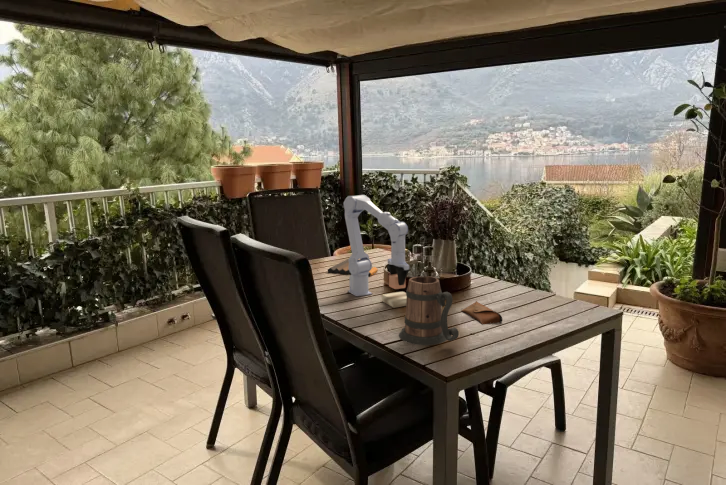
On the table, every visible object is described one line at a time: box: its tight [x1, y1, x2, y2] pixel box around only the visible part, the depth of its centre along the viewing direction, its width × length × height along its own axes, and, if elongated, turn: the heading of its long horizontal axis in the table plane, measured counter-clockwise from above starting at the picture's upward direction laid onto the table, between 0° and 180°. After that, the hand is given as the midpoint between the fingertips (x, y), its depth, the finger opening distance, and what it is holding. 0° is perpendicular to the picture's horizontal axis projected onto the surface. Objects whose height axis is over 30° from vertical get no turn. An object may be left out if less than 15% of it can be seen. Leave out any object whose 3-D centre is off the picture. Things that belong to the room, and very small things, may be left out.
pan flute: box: [327, 258, 379, 277], centre depth 266 cm, size 25×3×25 cm
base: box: [381, 290, 407, 309], centre depth 205 cm, size 10×10×3 cm
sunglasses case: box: [460, 300, 503, 325], centre depth 187 cm, size 18×7×7 cm
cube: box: [388, 274, 407, 290], centre depth 203 cm, size 5×5×5 cm
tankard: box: [398, 276, 460, 346], centre depth 163 cm, size 24×17×20 cm
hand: (398, 283), depth 204 cm, fingers closed on cube, 5 cm apart
